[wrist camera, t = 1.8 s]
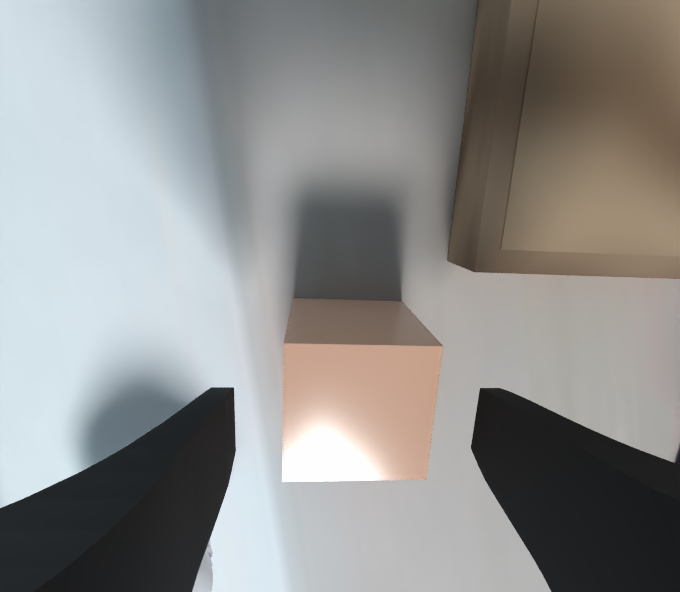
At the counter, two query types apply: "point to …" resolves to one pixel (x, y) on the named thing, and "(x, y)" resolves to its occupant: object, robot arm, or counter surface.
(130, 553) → the robot arm
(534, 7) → the tan brown tray
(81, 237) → the counter surface
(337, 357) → the peach tan block
